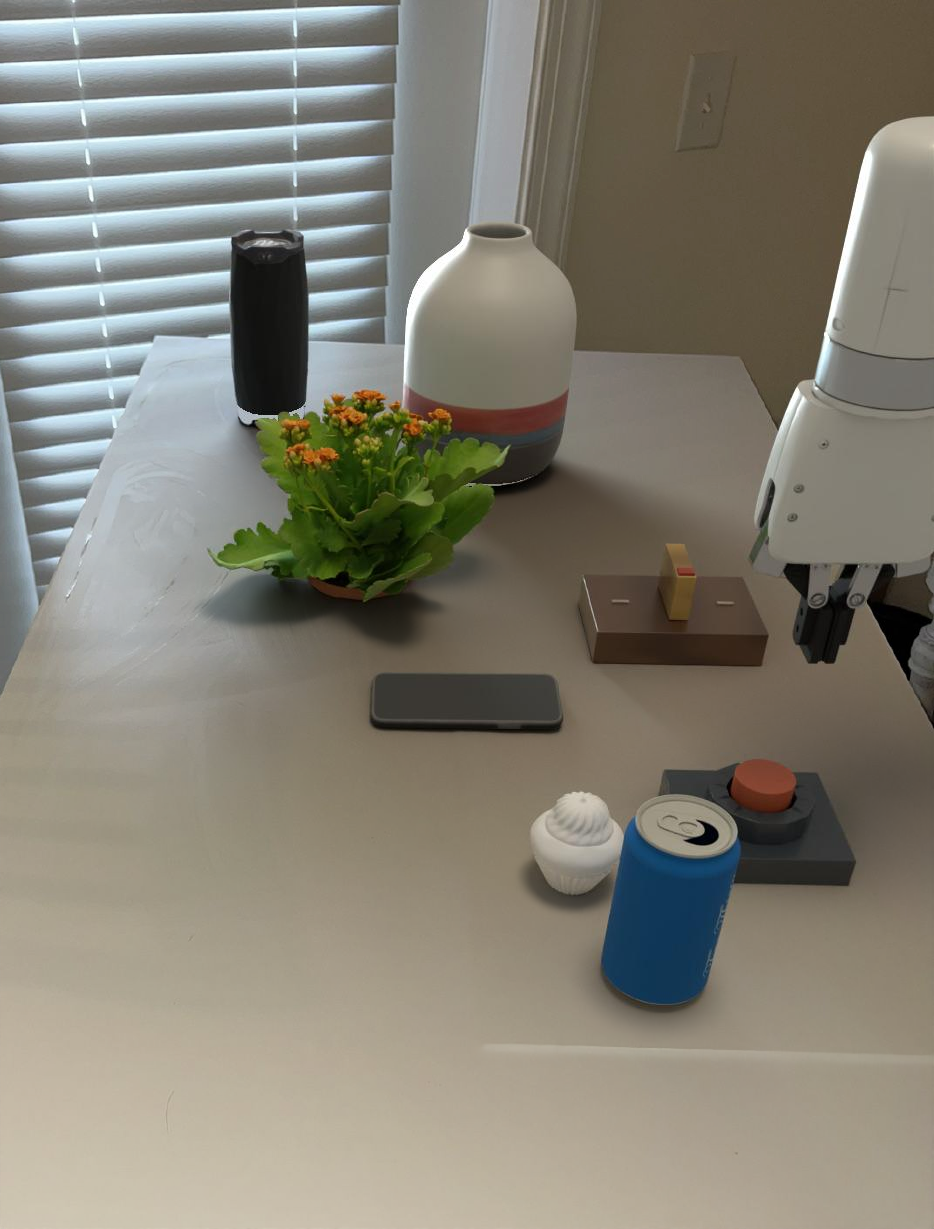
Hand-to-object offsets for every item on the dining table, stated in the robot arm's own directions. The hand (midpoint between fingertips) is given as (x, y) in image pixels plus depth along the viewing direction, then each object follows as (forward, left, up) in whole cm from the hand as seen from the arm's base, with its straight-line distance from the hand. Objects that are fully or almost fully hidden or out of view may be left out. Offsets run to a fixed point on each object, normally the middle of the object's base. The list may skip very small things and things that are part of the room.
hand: (815, 652), depth 86 cm
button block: (+2, +2, -14) cm, 14 cm away
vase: (+17, -61, -14) cm, 65 cm away
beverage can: (+11, +16, -14) cm, 24 cm away
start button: (+2, +2, -10) cm, 11 cm away
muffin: (+15, +7, -14) cm, 22 cm away
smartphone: (+21, -14, -14) cm, 29 cm away
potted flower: (+29, -36, -14) cm, 48 cm away
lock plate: (+3, -26, -14) cm, 30 cm away
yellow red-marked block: (+3, -26, -11) cm, 28 cm away
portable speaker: (+40, -74, -14) cm, 85 cm away
